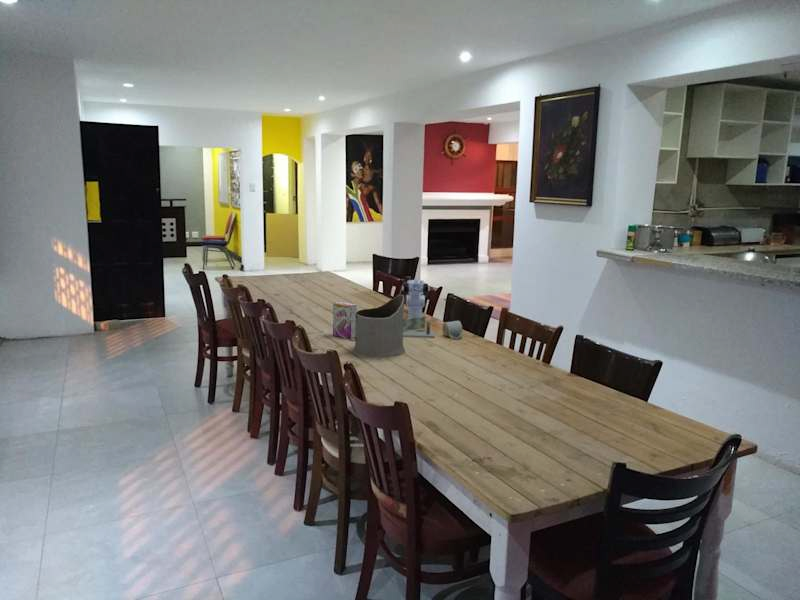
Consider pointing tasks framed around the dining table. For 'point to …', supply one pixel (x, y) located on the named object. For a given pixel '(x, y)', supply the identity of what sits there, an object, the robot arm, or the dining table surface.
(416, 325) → the gate
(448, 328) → the ceramic mug
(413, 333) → the gate base
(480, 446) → the dining table surface
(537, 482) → the dining table surface
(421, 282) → the robot arm
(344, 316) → the candy bar box
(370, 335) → the pitcher
